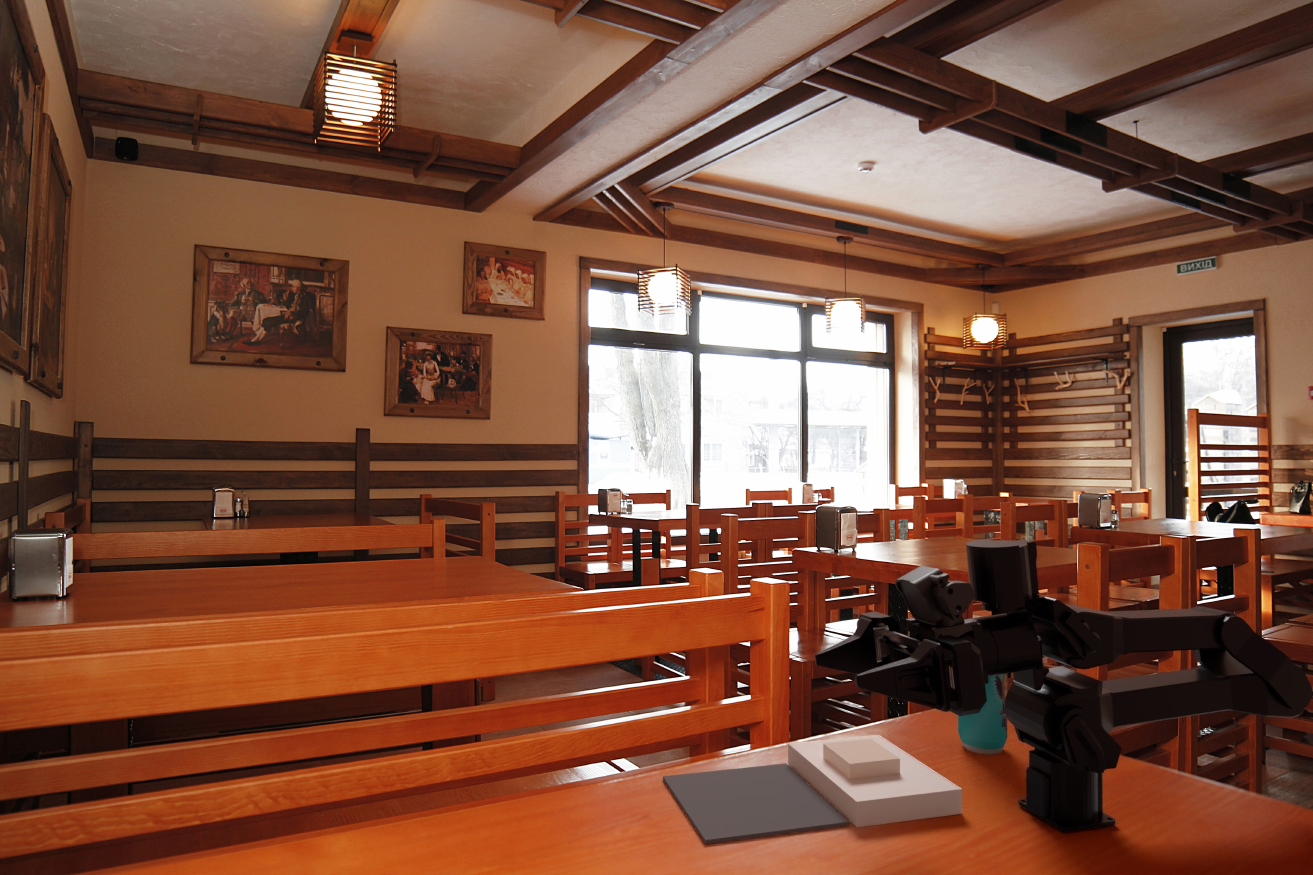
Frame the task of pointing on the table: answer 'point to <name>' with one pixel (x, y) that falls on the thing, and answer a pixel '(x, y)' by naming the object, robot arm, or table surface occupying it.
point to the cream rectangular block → (861, 758)
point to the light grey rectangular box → (877, 786)
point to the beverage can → (987, 720)
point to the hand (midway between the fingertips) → (834, 670)
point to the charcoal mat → (751, 803)
